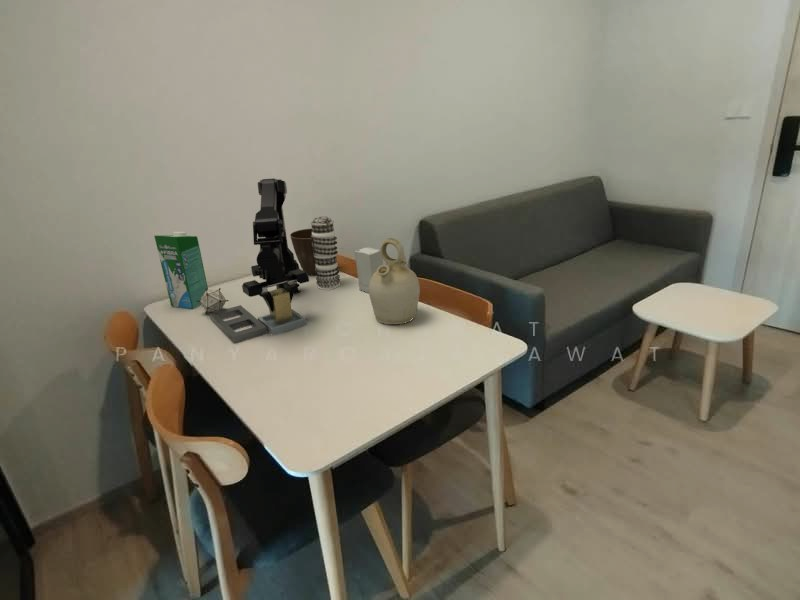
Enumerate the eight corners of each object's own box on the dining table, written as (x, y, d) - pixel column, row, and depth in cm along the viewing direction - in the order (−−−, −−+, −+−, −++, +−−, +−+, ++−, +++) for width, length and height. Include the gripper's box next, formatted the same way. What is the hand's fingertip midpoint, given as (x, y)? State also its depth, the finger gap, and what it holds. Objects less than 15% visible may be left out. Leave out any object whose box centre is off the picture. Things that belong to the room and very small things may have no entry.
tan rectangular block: (285, 313, 151) (282, 287, 148) (292, 318, 148) (289, 292, 144) (270, 317, 149) (266, 291, 145) (277, 323, 145) (273, 296, 142)
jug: (393, 332, 140) (388, 249, 130) (360, 317, 151) (354, 239, 141) (431, 316, 149) (429, 237, 140) (397, 303, 160) (394, 228, 151)
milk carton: (210, 299, 171) (196, 229, 161) (192, 309, 163) (176, 236, 153) (189, 297, 174) (174, 228, 164) (171, 306, 166) (153, 235, 156)
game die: (222, 320, 163) (237, 294, 162) (210, 322, 154) (225, 295, 153) (201, 306, 163) (215, 280, 162) (187, 307, 155) (202, 280, 154)
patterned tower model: (311, 285, 179) (303, 218, 169) (332, 279, 184) (325, 214, 175) (324, 292, 172) (317, 222, 163) (346, 285, 178) (340, 217, 168)
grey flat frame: (241, 310, 160) (240, 305, 159) (267, 333, 143) (266, 327, 142) (210, 319, 154) (209, 313, 154) (234, 343, 138) (232, 337, 137)
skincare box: (386, 290, 171) (383, 250, 165) (373, 295, 167) (370, 254, 161) (370, 285, 177) (367, 245, 171) (357, 290, 173) (354, 249, 167)
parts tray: (291, 313, 156) (290, 308, 155) (306, 324, 148) (306, 318, 147) (258, 323, 150) (257, 317, 149) (272, 335, 142) (271, 329, 141)
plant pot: (337, 266, 199) (333, 227, 193) (328, 278, 185) (324, 238, 179) (301, 266, 200) (296, 228, 194) (290, 279, 187) (284, 238, 181)
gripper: (290, 247, 152) (296, 293, 158) (231, 260, 142) (240, 309, 148) (306, 255, 144) (312, 303, 150) (245, 269, 134) (254, 320, 140)
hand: (280, 308), depth 147 cm, fingers closed on tan rectangular block, 5 cm apart
